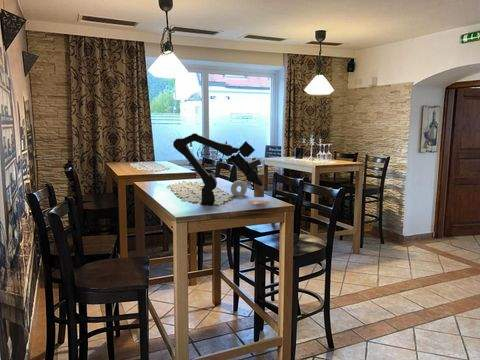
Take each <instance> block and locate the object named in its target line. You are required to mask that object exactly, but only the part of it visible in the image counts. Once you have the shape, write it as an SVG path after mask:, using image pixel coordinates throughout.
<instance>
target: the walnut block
mask: <svg viewBox="0 0 480 360" xmlns="http://www.w3.org/2000/svg"><path fill="white" fill-rule="evenodd" d="M257 173H258V178H259V180H260V181H261V183H262V184H263V186H259V185H257V184H255V183H253V197H254V198H264V197H265V180H266V179H265V173H264V172H263V173H262V172H257Z"/></svg>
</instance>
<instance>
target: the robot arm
mask: <svg viewBox="0 0 480 360" xmlns="http://www.w3.org/2000/svg"><path fill="white" fill-rule="evenodd" d="M194 142H196V143H199V144H201V145H204V146H205V147H208V148H211V149H213V150H215V151H217V152H219V153H220V154H222V155H224V156H225V157H227V164H230V163H232V164H233V165H234V166H235V167H236V168H237V169H238V171H240V172H241V173H242V174H243V176H244V177H245V180H246V181H247V182H250V183H253V184H254V183H255V184H257V185H259V186H263V184H262V183H261V181H260V180H259V178H258V173H259V172H258V171H257V170H256V169H257V168H256V167H258V166H261V165H262V162H261V160H260V158H258V157H253V158H251V159H252V160H251V161H249V160H246V159H245V158H249V156H251V155H252V154H253V153H254V152H255V151H256V149H255V148H254V147H253V146H252V145H251V144H249V142H248V141H247V140H245V141H244V142H243V144H242V145H240V146H239V147H236V146H235V147H234V146H233V145H231V144H227V143H223V142H218V141H215V140H212V139H210V138H208V137H205V136H203V135H200V134H198V133H191V134H190V135H188V136H185V137H178V138H176V139H174V140H173V143H172V146H173V148H174V149H175V150H177V152H179V153H180V154H181V155H182V156H184V157H185V159H186V160H187V161H188V162H189V164H190V165H191V166H192V167H193V169H194V170H195V171H196V173H197V174H198V175H199V176H200V178H201V180H202V183H203V185H202V188H201V190H200V191H201V202H200V204H201V206H202V205H208V206H209V205H214V204H215V203H216V202H215V201H216V200H215V199H216V198H215V197H216V196H215V194H214V191H213V190H215V189H216V188H217V186H218V185H217V184H218V182H217V181H218V180H217V177H216V176H214V174H213V172H211V173H208V172H207V170H206V169H205V168H204V166H203V165H202V164H201V163H200V161H199V159H197V158H196V157H195V155H194V154H193V153H192V151H191V149H190V148H189V145H188V144H192V143H194Z"/></svg>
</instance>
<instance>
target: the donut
mask: <svg viewBox="0 0 480 360" xmlns="http://www.w3.org/2000/svg"><path fill="white" fill-rule="evenodd" d="M238 187H240V190H239V191H238V190H237V188H238ZM247 190H248V186H247V184H246V183H245V181H243V180H235V181H233V182H232V184H231V186H230V192H231V194H232V196H233V197H243V196H245V195H246V193H247Z"/></svg>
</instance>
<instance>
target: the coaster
mask: <svg viewBox="0 0 480 360" xmlns="http://www.w3.org/2000/svg"><path fill="white" fill-rule="evenodd" d="M247 204H249V205H255V206H256V205H257V206H260V205H261V206H262V205H264V206H265V205H269V204H271V202H270V201H269V200H265V199H262V200H261V199H253V200H252V199H251V200H248V201H247Z"/></svg>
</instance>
